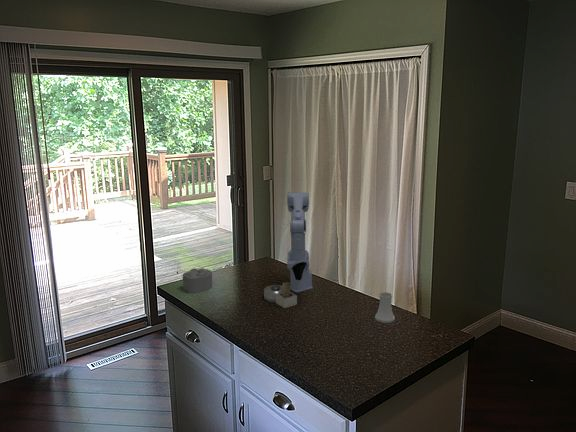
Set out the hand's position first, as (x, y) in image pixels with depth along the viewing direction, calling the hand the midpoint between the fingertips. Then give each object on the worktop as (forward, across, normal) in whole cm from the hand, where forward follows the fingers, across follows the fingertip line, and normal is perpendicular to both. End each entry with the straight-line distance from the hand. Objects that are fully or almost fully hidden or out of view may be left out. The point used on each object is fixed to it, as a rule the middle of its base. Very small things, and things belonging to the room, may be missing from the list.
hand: (298, 279), depth 197 cm
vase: (+11, -3, +37) cm, 38 cm away
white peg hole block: (+10, +2, -8) cm, 13 cm away
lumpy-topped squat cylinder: (+11, +8, -48) cm, 50 cm away
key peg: (+9, +4, -4) cm, 11 cm away
